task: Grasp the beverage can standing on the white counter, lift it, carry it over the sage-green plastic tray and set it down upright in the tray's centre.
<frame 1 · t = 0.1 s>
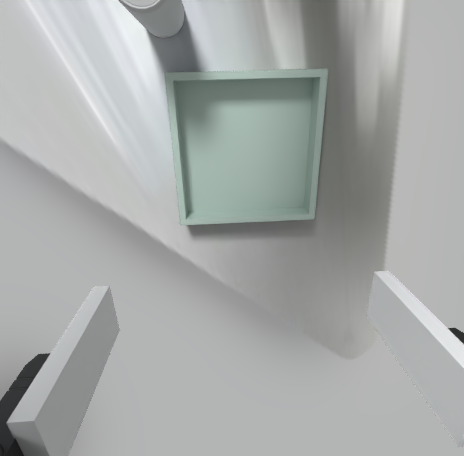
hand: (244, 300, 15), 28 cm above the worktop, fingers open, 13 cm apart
tray: (245, 149, 39), on the worktop
beverage can: (163, 14, 33), on the worktop
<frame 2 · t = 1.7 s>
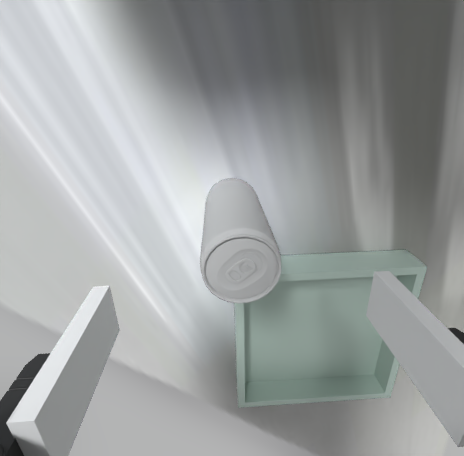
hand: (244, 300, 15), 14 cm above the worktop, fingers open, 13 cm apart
tray: (312, 322, 34), on the worktop
beverage can: (231, 201, 28), on the worktop
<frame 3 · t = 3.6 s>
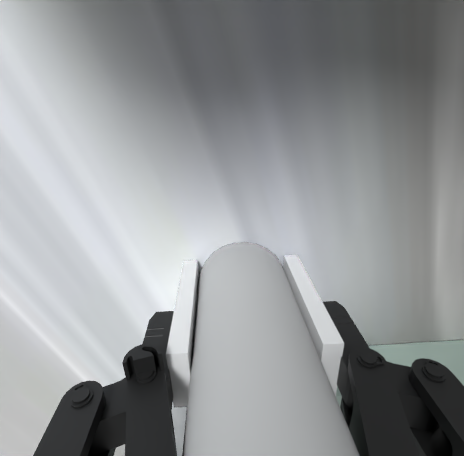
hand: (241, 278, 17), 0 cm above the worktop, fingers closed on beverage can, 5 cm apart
tray: (357, 432, 23), on the worktop
beverage can: (240, 273, 17), on the worktop, touching gripper
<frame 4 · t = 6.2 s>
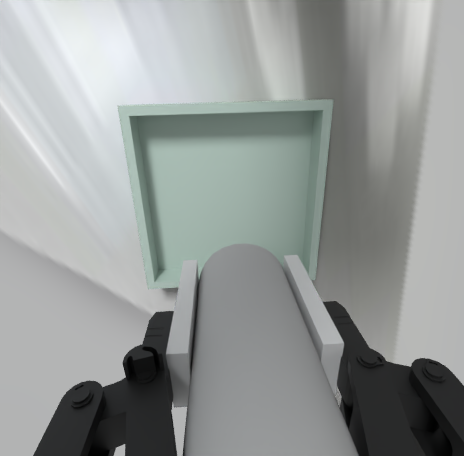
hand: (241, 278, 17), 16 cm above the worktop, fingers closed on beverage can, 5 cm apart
tray: (228, 194, 32), on the worktop
beverage can: (240, 274, 17), point 16 cm above the worktop, touching gripper
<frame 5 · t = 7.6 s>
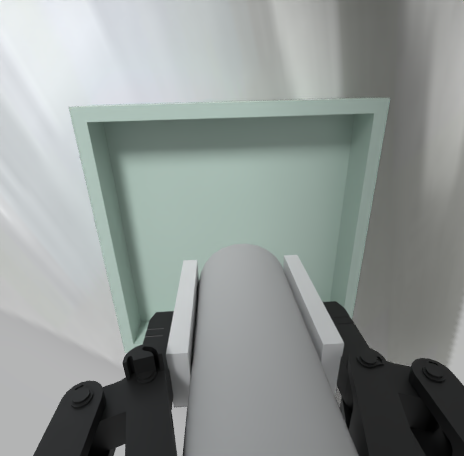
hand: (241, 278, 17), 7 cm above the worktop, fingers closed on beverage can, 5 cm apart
tray: (233, 226, 23), on the worktop
beverage can: (240, 274, 17), point 7 cm above the worktop, touching gripper
when the fingers open (3 cm above the worktop, at t = 8.8 s): beverage can drops 2 cm, resting on tray.
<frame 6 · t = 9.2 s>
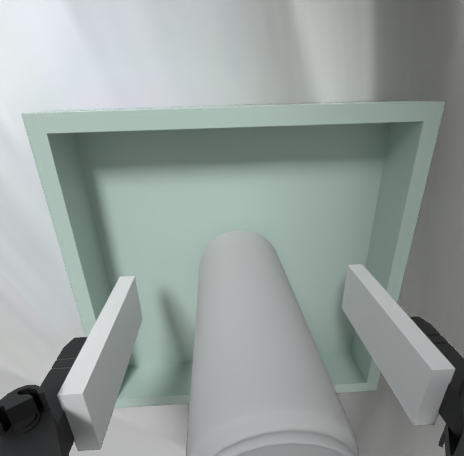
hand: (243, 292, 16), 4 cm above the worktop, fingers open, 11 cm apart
tray: (237, 255, 19), on the worktop
beverage can: (237, 259, 19), point 1 cm above the worktop, touching tray
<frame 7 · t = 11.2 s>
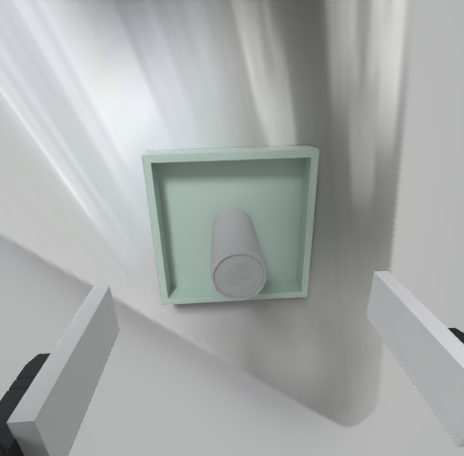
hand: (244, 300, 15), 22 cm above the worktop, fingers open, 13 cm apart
tray: (232, 223, 37), on the worktop
beverage can: (232, 224, 36), point 1 cm above the worktop, touching tray
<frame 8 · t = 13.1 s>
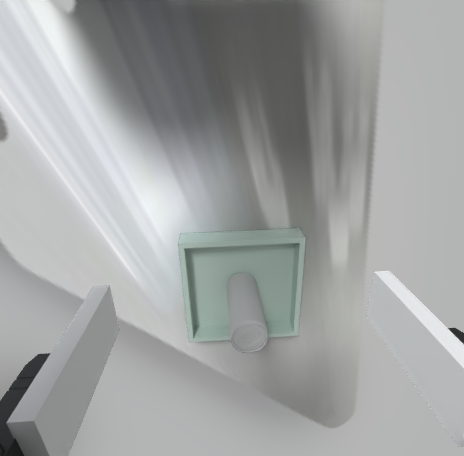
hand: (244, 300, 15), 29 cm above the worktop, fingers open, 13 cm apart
tray: (241, 281, 49), on the worktop
beverage can: (241, 283, 48), point 1 cm above the worktop, touching tray
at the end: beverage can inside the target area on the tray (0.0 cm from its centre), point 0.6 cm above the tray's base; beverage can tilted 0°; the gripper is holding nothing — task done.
